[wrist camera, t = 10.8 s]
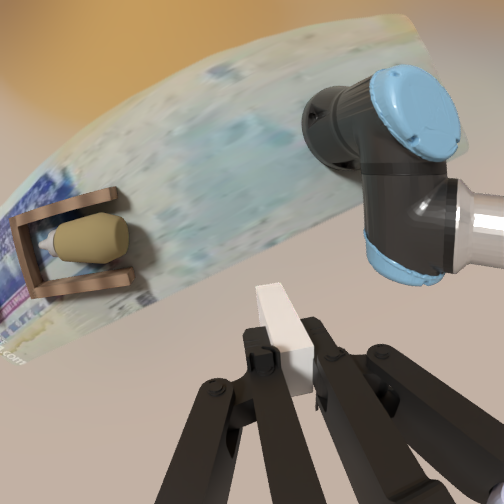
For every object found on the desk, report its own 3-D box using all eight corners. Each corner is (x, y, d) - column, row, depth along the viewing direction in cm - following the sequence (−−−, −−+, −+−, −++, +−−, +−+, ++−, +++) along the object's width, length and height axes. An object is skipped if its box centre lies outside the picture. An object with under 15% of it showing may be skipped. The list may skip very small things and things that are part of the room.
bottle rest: (115, 186, 41) (108, 187, 37) (135, 277, 45) (130, 285, 42) (18, 215, 38) (8, 218, 35) (39, 291, 43) (31, 299, 40)
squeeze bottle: (126, 273, 39) (44, 277, 39) (136, 234, 45) (57, 243, 44) (106, 237, 33) (20, 247, 33) (120, 198, 38) (38, 213, 38)
